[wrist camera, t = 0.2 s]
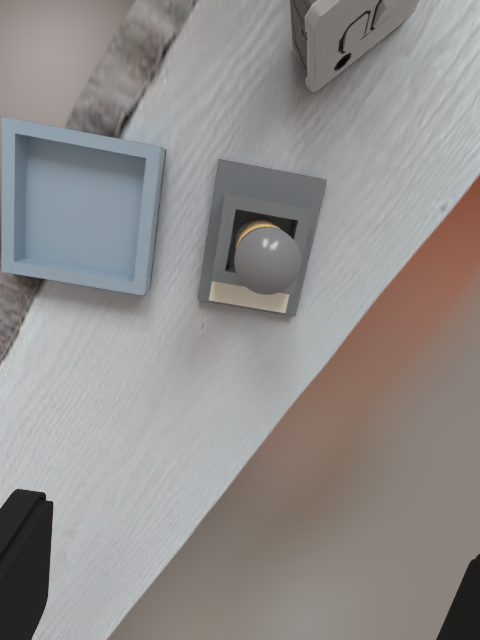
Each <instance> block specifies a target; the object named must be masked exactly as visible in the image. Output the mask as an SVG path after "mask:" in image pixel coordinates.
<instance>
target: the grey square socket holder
mask: <svg viewBox="0 0 480 640" xmlns="http://www.w3.org/2000/svg"><path fill="white" fill-rule="evenodd" d="M326 181H327V180H325V179H320V178H315V177H309V176H304V175H299V174H294V173H289V172H283V171H278V170H273V169H268V168H262V167H257V166H252V165H247V164H241V163H236V162H231V161H226V160H221V159H219V163H218V169H217V176H216V182H215V189H214V196H213V202H212V209H211V215H210V222H209V229H208V235H207V242H206V248H205V255H204V261H203V268H202V275H201V281H200V288H199V294H198V300H201V301H207V302H212V303H218V304H224V305H230V306H236V307H242V308H248V309H254V310H260V311H266V312H272V313H277V314H283V315H289V316H296V311H297V307H298V302H299V298H300V294H301V289H302V285H303V281H304V276H305V272H306V268H307V263H308V259H309V255H310V250H311V246H312V242H313V237H314V233H315V228H316V224H317V220H318V215H319V211H320V207H321V202H322V198H323V194H324V189H325V185H326ZM259 217H261V218H267V219H269V220H271V221H273V222H274V223H276V224H277V225H278V226H279V227H280V229H281V230H282V231H284V232H285V233H287V234H288V235H289V236H290V237H291V238H292V239H293V240H294V241H295V242H296V244H297V246H298V248H299V251H300V255H301V267H300V271H299V274H298V276H297V278H296V279H295V281H294V282H293V283H292V284H291V285H290V286H289V287H288V288H287V289H285V290H283V291H281V292H279V293H276V294H270V295H264V294H258V293H255V292H253V291H251V290H249V289H248V288H246V287H245V286H244V285H243V284H242V282H241V281H240V280H239V278H238V276H237V274H236V270H235V264H234V258H235V238H236V234H237V232H238V230H239V228H240V227H241V226H242V225H243V224H244V223H245V222H246V221H248V220H250V219H253V218H259Z"/></svg>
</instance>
